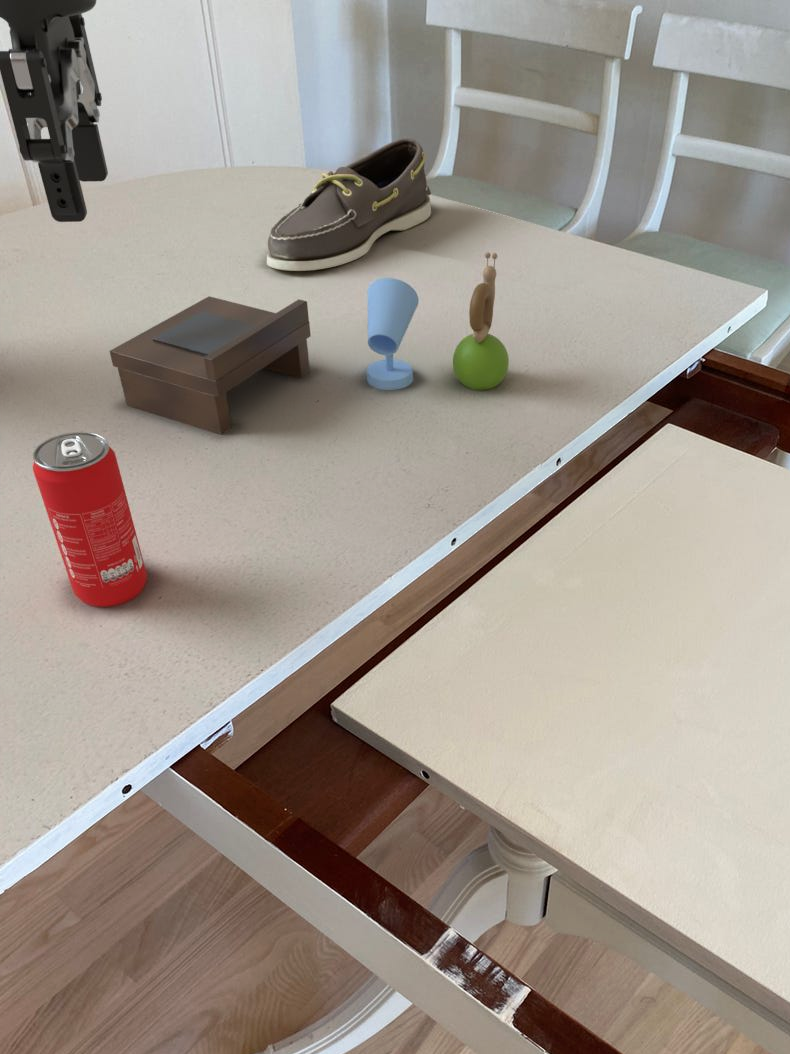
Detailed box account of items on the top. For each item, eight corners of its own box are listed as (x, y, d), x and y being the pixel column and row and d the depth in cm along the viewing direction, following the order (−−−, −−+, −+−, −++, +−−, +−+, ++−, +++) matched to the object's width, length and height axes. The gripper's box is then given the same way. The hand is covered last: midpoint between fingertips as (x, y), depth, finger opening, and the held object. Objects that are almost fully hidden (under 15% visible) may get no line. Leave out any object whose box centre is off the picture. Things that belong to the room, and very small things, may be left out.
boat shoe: (239, 269, 117) (228, 189, 111) (387, 200, 137) (384, 129, 131) (311, 289, 113) (303, 208, 107) (452, 215, 133) (452, 143, 127)
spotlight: (374, 365, 99) (359, 397, 94) (368, 267, 92) (352, 296, 87) (421, 369, 99) (409, 401, 94) (419, 271, 92) (406, 300, 87)
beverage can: (81, 623, 69) (32, 478, 61) (72, 581, 72) (25, 438, 64) (155, 604, 70) (118, 461, 62) (143, 564, 74) (106, 423, 66)
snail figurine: (514, 374, 98) (520, 254, 90) (501, 403, 94) (506, 280, 86) (462, 367, 99) (463, 248, 91) (446, 396, 95) (446, 274, 87)
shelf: (124, 410, 91) (103, 329, 86) (218, 352, 101) (205, 276, 95) (227, 443, 87) (212, 359, 82) (315, 379, 97) (307, 300, 91)
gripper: (-20, -96, 63) (49, 169, 74) (-89, -68, 53) (3, 236, 64) (99, -95, 64) (150, 168, 75) (54, -67, 54) (121, 234, 64)
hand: (82, 199), depth 69 cm, fingers open, 8 cm apart
